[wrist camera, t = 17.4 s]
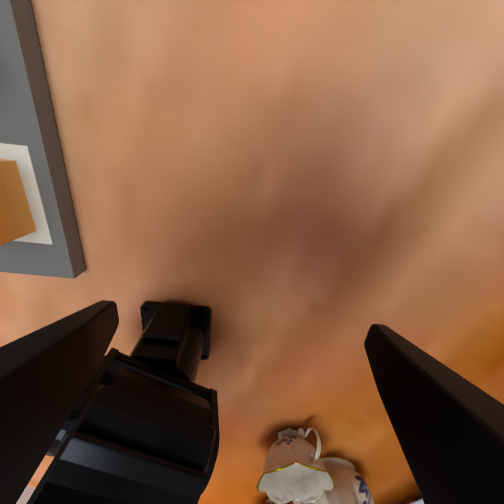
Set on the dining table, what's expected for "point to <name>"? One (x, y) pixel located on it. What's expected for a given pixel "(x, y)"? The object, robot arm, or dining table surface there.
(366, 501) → the chinaware
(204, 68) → the dining table surface
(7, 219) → the mustard yellow cube
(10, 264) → the breaker panel
